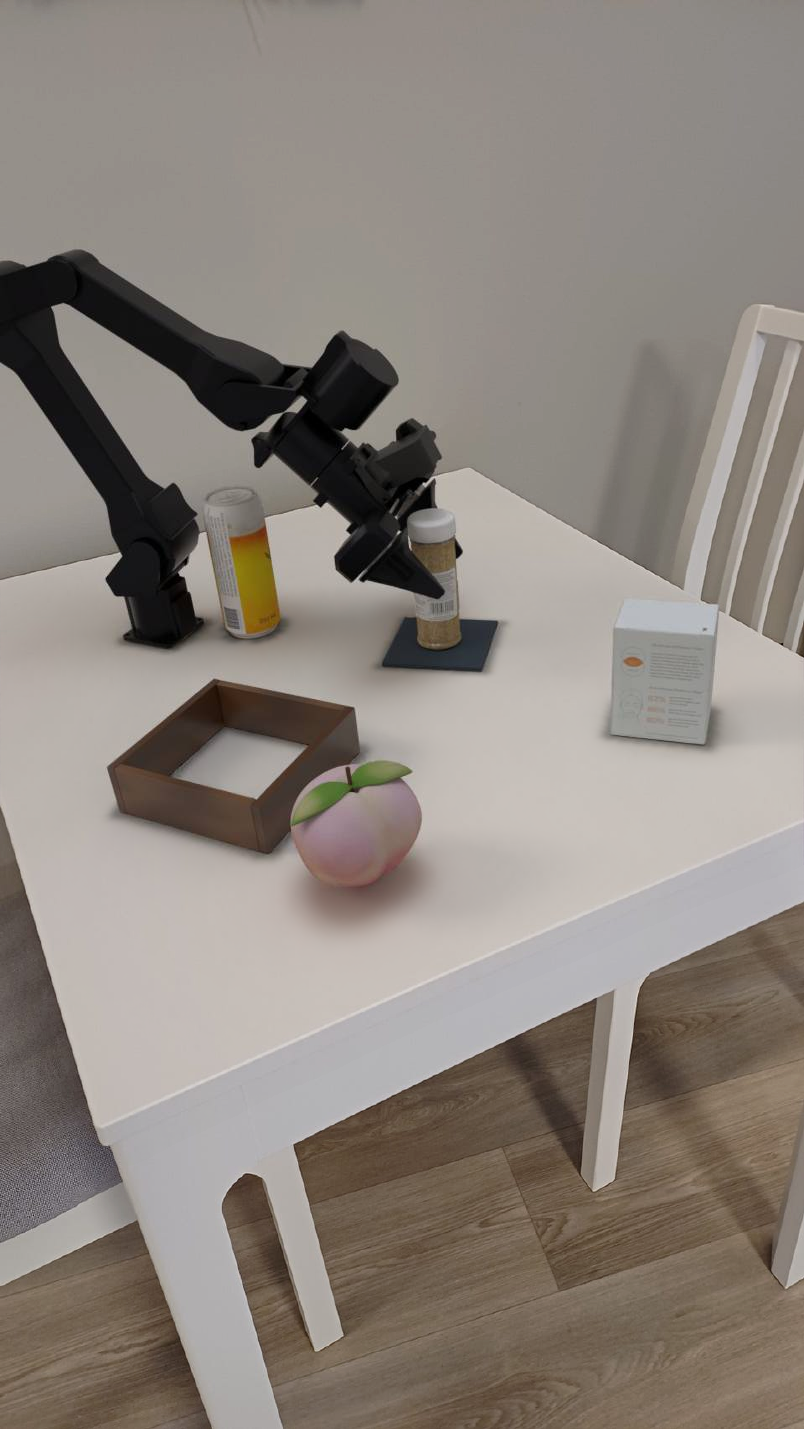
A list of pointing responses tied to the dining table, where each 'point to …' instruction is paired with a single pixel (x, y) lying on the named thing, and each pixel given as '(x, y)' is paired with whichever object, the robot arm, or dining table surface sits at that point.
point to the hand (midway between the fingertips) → (451, 575)
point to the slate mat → (458, 657)
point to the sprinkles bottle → (437, 554)
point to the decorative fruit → (356, 822)
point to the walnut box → (220, 812)
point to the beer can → (241, 560)
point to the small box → (663, 669)
